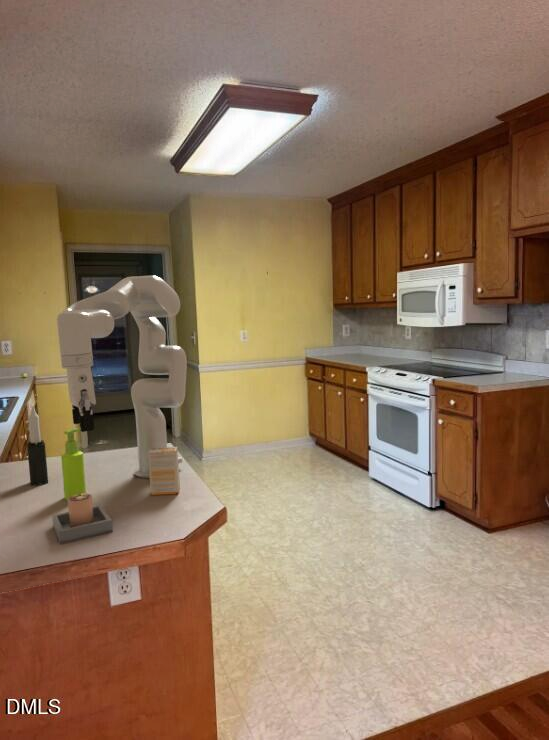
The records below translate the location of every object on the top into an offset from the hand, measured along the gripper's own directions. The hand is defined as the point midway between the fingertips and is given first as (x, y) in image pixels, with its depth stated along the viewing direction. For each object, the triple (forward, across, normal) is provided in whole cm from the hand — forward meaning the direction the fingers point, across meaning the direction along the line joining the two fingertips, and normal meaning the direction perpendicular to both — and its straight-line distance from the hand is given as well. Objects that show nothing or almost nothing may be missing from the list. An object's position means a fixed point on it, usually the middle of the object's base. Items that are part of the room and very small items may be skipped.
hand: (83, 426), depth 133 cm
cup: (+24, -7, +4) cm, 25 cm away
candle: (+25, +40, +8) cm, 48 cm away
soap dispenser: (+25, +19, +1) cm, 31 cm away
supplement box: (+25, +7, -22) cm, 34 cm away
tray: (+24, -7, +4) cm, 25 cm away
